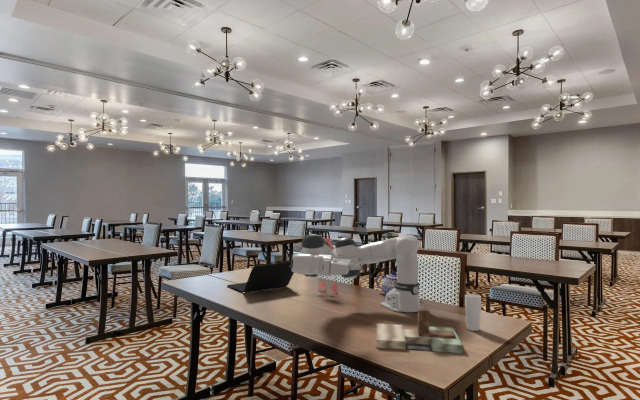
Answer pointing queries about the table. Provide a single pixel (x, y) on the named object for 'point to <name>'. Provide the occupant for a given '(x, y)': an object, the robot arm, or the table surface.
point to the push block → (424, 326)
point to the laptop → (266, 277)
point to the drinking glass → (473, 311)
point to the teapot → (387, 282)
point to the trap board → (415, 339)
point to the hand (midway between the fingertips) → (360, 267)
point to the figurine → (334, 286)
